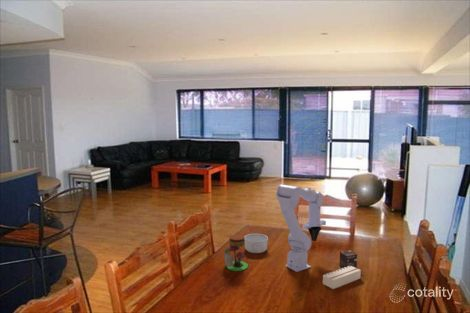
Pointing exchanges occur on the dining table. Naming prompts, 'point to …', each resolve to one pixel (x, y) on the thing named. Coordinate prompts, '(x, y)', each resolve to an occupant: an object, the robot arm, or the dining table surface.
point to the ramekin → (256, 243)
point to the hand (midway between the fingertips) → (314, 240)
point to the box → (348, 259)
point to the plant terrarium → (234, 245)
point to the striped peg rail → (341, 277)
